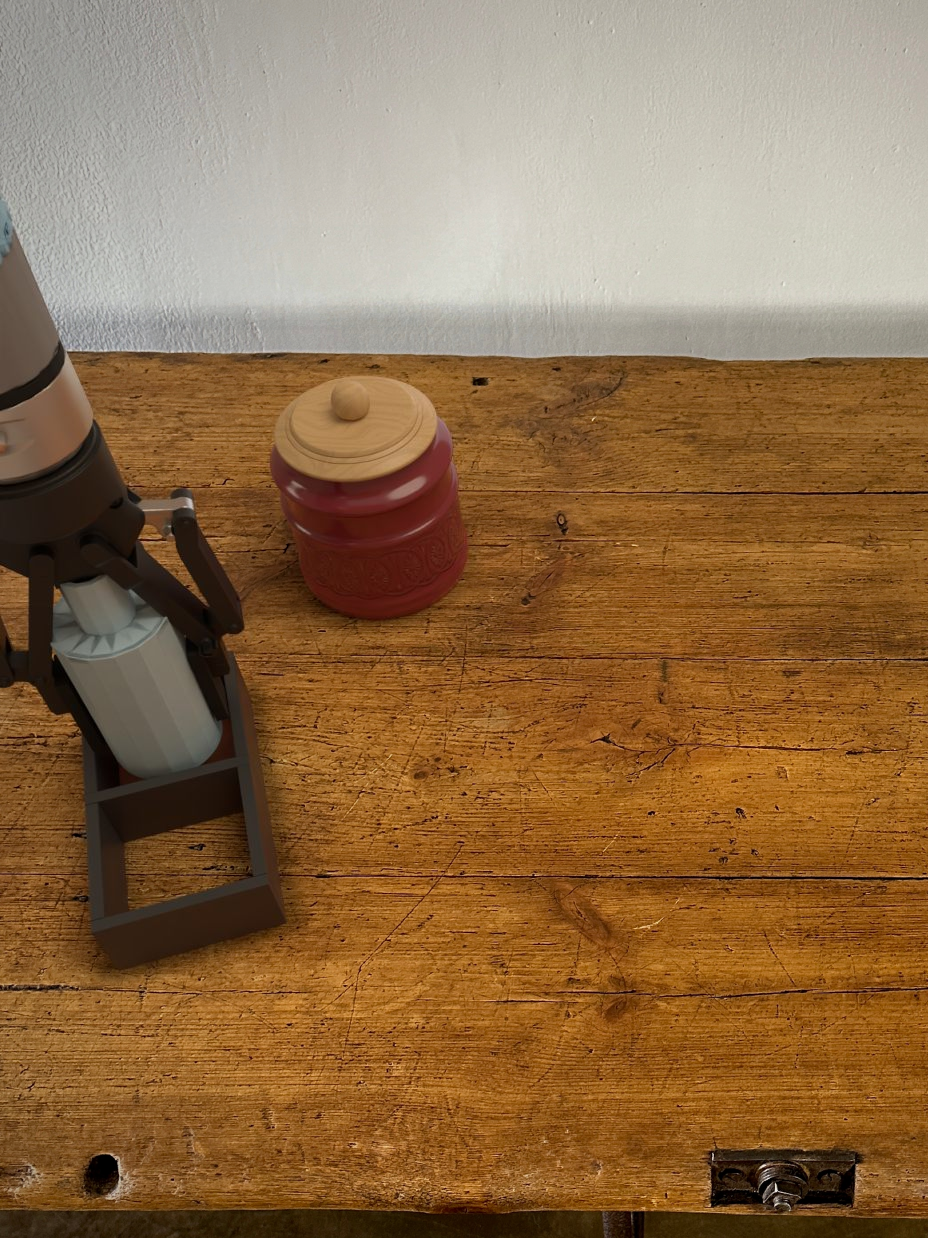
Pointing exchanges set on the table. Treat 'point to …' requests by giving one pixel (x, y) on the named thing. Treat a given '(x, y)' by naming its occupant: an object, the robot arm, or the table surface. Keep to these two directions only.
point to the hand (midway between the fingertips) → (160, 718)
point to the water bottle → (134, 678)
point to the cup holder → (167, 806)
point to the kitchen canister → (370, 496)
